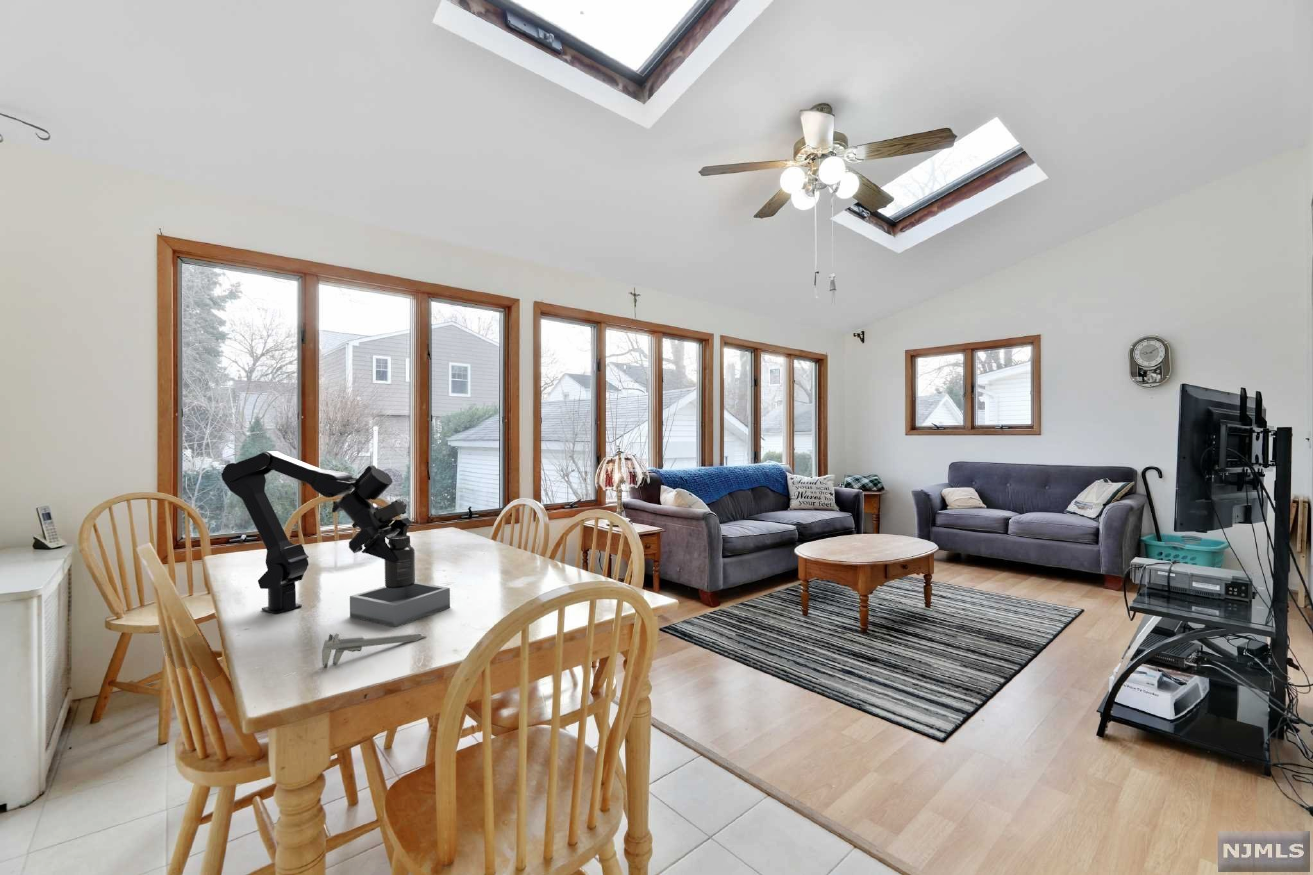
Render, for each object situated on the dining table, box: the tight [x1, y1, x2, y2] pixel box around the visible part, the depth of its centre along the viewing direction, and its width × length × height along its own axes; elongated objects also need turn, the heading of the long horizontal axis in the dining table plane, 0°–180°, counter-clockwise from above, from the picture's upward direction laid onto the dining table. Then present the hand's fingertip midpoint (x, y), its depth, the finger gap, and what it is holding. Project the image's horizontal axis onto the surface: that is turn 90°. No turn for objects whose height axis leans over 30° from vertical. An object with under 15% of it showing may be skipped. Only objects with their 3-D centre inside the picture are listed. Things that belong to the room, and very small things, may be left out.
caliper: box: [321, 632, 427, 668], centre depth 116 cm, size 20×1×6 cm, turn 141°
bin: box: [349, 581, 451, 628], centre depth 140 cm, size 16×16×5 cm
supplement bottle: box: [383, 534, 416, 589], centre depth 140 cm, size 7×7×12 cm
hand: (405, 558), depth 140 cm, fingers closed on supplement bottle, 7 cm apart
